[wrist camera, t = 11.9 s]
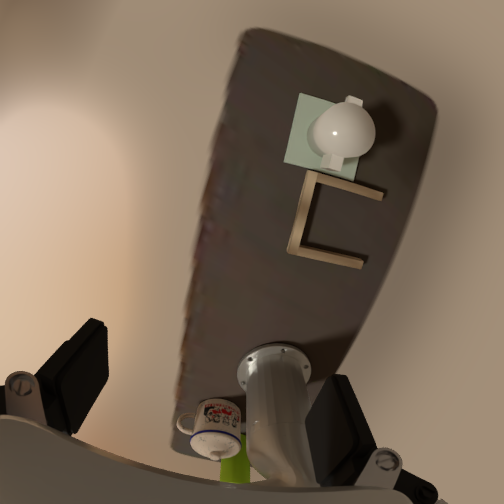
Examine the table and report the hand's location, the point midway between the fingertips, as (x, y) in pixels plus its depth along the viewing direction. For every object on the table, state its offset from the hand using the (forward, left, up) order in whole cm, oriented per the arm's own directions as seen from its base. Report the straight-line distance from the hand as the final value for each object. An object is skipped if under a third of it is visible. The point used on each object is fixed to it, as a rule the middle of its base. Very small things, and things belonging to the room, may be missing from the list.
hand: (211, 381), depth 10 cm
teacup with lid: (-36, -2, -30) cm, 47 cm away
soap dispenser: (-46, -9, -30) cm, 55 cm away
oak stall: (+4, -13, -29) cm, 32 cm away
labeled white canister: (+15, -9, -29) cm, 34 cm away
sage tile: (+15, -9, -29) cm, 34 cm away
